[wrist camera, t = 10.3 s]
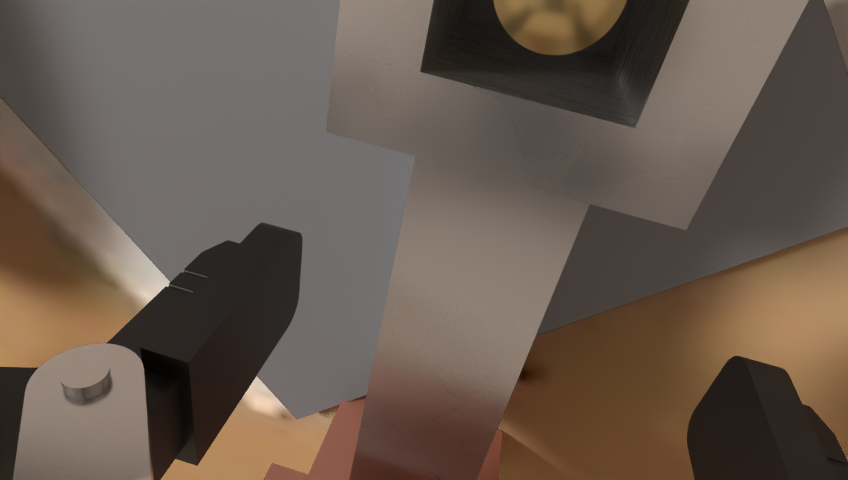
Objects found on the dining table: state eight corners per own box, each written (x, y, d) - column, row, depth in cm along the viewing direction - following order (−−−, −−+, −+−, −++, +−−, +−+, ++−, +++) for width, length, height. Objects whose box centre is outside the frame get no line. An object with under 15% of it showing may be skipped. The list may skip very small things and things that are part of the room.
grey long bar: (452, -265, 10) (381, -383, 6) (786, -194, 10) (951, -269, 6) (348, 353, 19) (288, 479, 15) (524, 406, 19) (514, 551, 14)
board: (508, -879, 8) (504, -952, 7) (877, 195, 14) (894, 210, 13) (-88, -33, 16) (-117, -30, 15) (304, 403, 22) (296, 419, 21)
